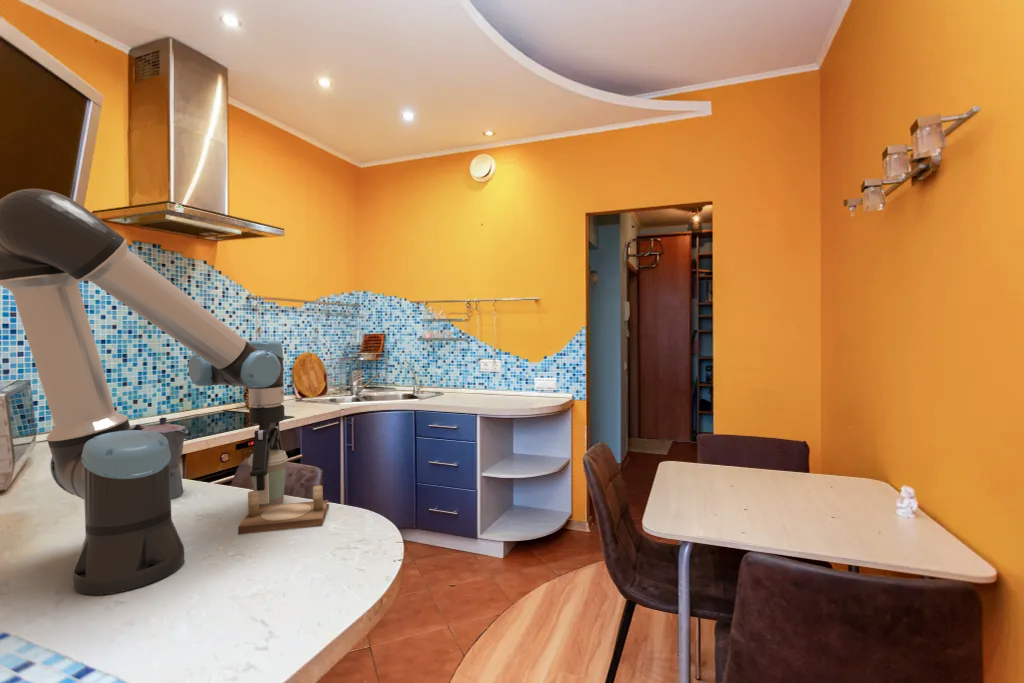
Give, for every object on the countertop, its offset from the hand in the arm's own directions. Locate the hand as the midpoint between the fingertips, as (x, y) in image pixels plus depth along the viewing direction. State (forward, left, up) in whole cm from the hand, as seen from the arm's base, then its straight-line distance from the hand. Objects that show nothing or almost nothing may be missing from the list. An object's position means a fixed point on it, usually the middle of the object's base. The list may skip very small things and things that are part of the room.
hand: (269, 494), depth 119 cm
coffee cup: (0, 0, -2) cm, 2 cm away
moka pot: (+13, +28, -2) cm, 31 cm away
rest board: (-12, -6, -2) cm, 14 cm away
